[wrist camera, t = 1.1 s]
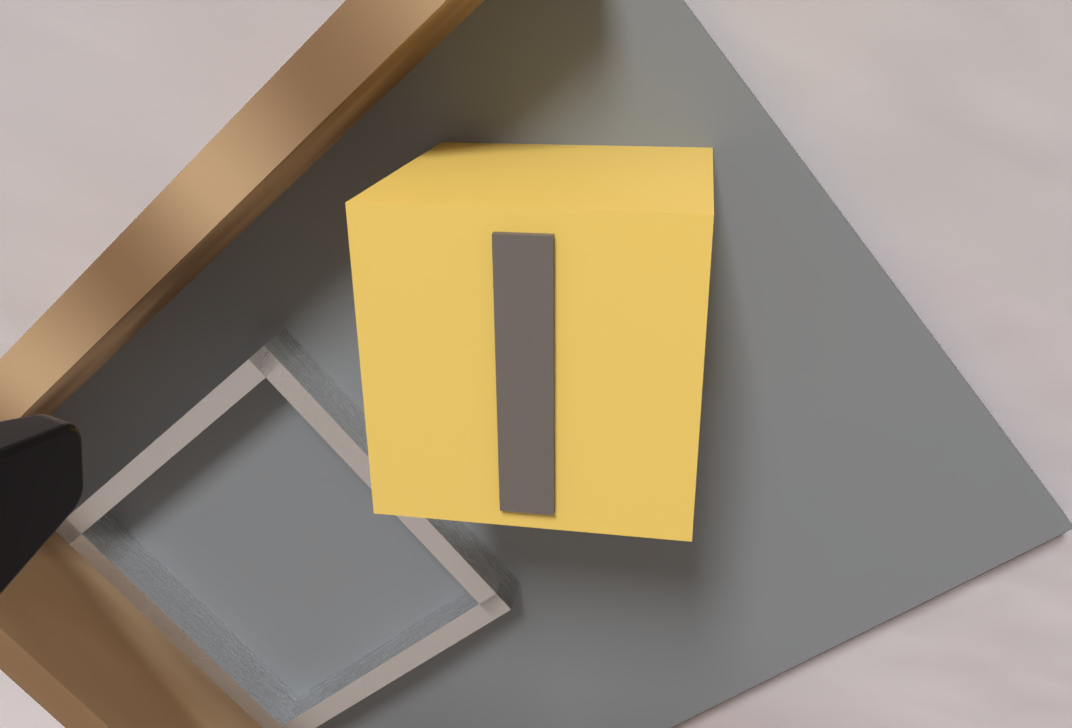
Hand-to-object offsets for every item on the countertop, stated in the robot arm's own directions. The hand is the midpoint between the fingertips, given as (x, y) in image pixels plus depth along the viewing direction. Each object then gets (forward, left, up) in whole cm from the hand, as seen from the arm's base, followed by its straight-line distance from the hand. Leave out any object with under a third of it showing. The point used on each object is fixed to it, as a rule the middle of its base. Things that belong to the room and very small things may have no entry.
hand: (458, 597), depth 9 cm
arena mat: (-7, -3, -13) cm, 16 cm away
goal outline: (-12, -1, -13) cm, 18 cm away
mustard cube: (-1, 0, -13) cm, 13 cm away
